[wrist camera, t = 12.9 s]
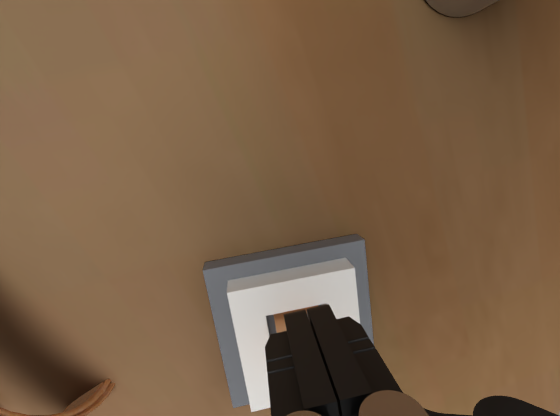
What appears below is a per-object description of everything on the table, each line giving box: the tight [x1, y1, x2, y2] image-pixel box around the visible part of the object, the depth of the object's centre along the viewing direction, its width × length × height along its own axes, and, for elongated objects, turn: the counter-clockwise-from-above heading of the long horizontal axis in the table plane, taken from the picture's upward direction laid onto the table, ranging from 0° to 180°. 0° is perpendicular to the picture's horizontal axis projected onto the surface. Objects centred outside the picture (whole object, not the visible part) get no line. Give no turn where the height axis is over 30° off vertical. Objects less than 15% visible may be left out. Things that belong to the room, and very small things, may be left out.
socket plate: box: [203, 234, 374, 412], centre depth 32 cm, size 16×16×4 cm
